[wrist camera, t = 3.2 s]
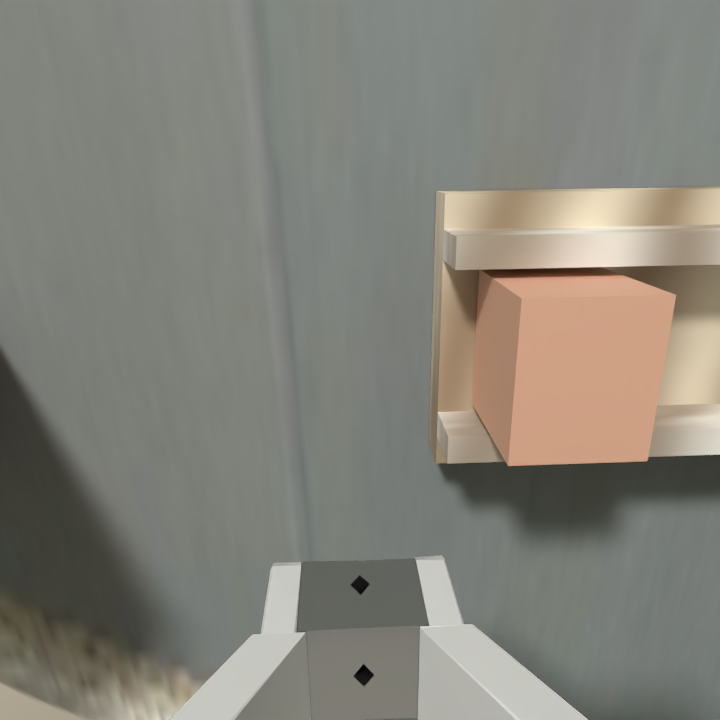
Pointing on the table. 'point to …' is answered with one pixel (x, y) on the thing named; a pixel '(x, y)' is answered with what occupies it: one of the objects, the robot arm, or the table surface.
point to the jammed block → (569, 363)
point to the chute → (574, 250)
